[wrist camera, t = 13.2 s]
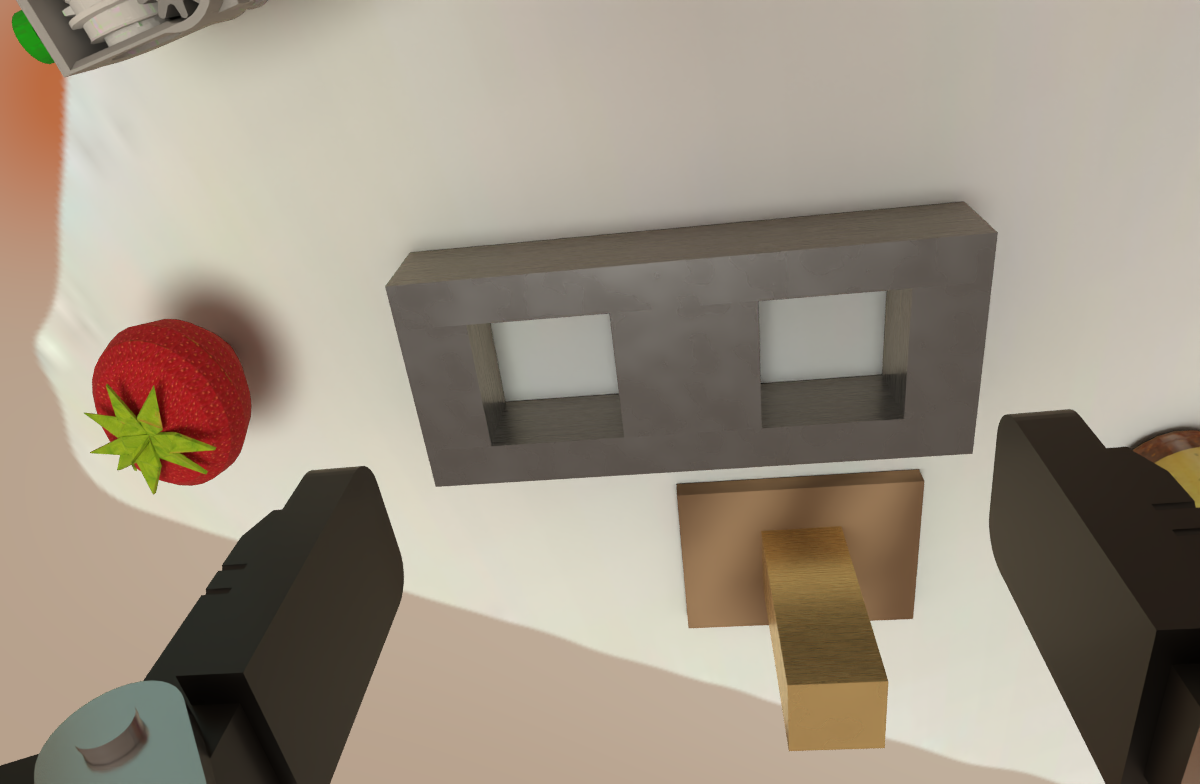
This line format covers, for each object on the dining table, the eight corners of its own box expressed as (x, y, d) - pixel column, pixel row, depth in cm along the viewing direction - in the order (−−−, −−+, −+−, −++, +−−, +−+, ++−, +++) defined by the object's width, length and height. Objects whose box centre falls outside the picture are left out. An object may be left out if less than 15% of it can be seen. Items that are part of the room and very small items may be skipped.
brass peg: (841, 526, 43) (888, 681, 34) (840, 586, 45) (884, 747, 36) (761, 530, 43) (787, 685, 35) (763, 590, 45) (789, 751, 37)
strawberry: (262, 270, 39) (148, 372, 30) (308, 411, 43) (219, 538, 34) (142, 282, 40) (-3, 385, 31) (198, 420, 43) (82, 547, 35)
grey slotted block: (964, 201, 36) (997, 232, 32) (945, 407, 40) (972, 453, 37) (410, 252, 38) (385, 286, 35) (453, 440, 43) (435, 486, 40)
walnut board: (918, 469, 42) (924, 481, 41) (908, 605, 47) (913, 618, 46) (676, 484, 44) (677, 495, 43) (688, 615, 48) (688, 628, 47)
